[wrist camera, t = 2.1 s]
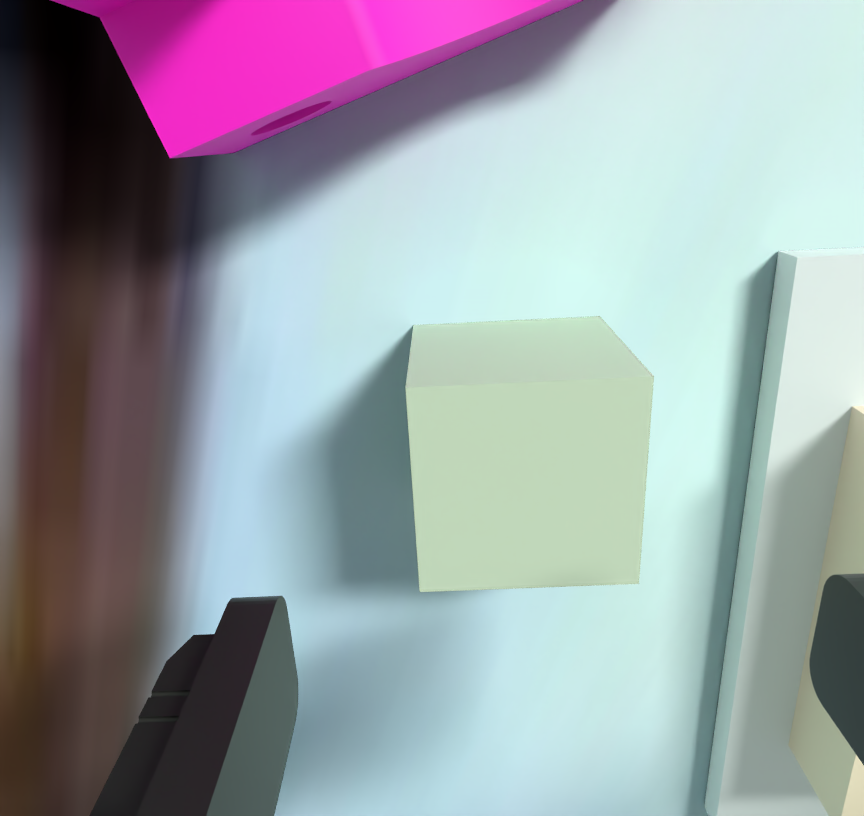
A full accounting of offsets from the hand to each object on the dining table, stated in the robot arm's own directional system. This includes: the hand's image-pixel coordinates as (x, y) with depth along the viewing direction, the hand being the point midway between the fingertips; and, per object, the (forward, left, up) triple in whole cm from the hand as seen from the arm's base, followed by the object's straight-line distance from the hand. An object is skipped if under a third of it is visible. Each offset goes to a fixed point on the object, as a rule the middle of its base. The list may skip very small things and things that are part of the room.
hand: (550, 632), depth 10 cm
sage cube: (0, 0, -10) cm, 10 cm away
